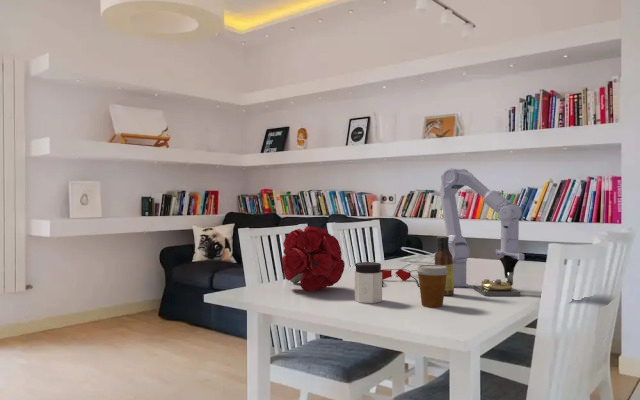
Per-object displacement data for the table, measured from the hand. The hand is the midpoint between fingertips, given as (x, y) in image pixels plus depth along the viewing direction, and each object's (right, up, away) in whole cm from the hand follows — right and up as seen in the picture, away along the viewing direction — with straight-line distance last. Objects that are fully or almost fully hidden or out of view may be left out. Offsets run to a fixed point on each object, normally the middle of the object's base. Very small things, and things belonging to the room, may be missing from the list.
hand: (509, 278), depth 178 cm
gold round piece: (-4, -4, +1) cm, 5 cm away
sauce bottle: (-23, -6, -2) cm, 24 cm away
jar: (-50, -6, -13) cm, 52 cm away
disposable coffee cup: (-31, -6, -20) cm, 37 cm away
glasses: (-36, -6, +20) cm, 42 cm away
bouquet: (-69, -5, +9) cm, 70 cm away
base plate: (-4, -5, +1) cm, 7 cm away
